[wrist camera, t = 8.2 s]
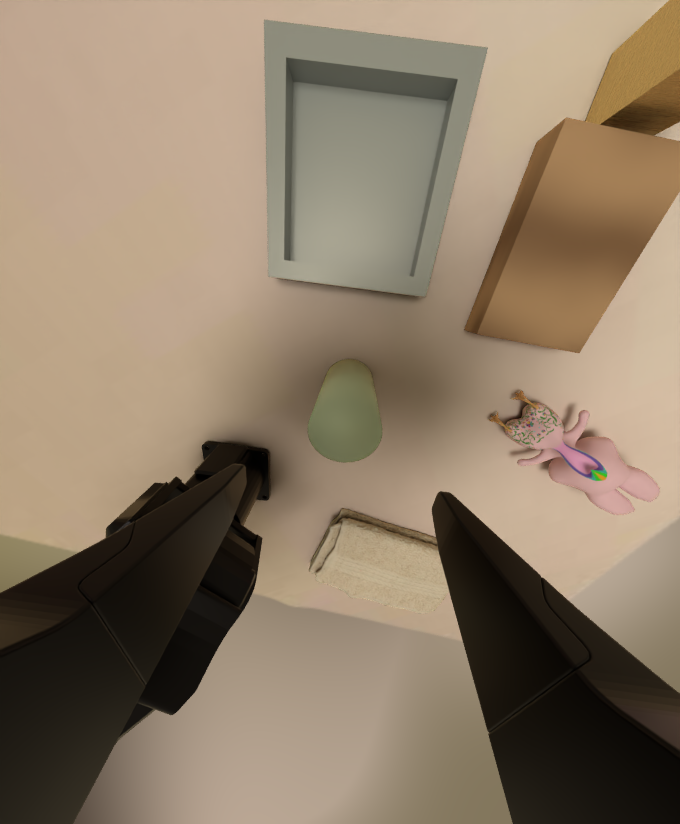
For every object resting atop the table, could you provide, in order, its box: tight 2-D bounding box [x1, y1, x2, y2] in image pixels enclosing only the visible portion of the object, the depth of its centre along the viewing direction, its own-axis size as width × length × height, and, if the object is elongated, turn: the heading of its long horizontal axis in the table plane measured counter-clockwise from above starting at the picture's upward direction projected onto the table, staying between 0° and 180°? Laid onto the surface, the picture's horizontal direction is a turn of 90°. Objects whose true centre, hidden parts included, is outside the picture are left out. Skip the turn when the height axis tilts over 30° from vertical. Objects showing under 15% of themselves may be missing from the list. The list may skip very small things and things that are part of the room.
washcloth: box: [309, 508, 449, 614], centre depth 29 cm, size 12×18×3 cm, turn 71°
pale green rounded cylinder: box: [308, 359, 382, 462], centre depth 16 cm, size 4×4×8 cm
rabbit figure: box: [488, 390, 660, 515], centre depth 19 cm, size 6×6×15 cm
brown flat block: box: [464, 118, 680, 353], centre depth 15 cm, size 10×7×2 cm
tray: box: [264, 20, 488, 297], centre depth 14 cm, size 10×10×2 cm
